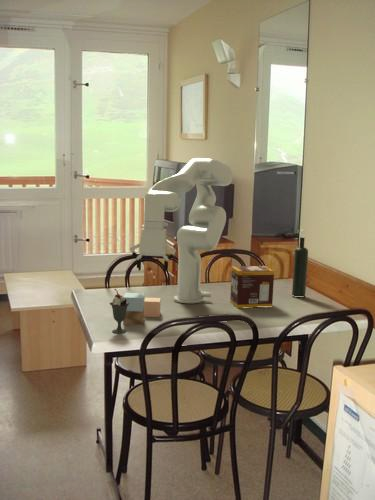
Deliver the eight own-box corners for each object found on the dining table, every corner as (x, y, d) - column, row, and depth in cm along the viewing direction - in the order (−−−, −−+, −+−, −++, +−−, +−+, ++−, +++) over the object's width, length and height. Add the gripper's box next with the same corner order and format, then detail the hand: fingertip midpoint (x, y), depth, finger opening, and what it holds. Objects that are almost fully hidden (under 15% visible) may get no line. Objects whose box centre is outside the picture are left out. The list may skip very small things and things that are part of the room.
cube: (160, 313, 233) (160, 298, 232) (159, 317, 227) (159, 301, 226) (144, 312, 233) (145, 297, 232) (143, 316, 227) (143, 301, 226)
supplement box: (229, 302, 253) (231, 265, 250) (264, 301, 256) (266, 265, 254) (236, 308, 243) (238, 270, 240) (272, 307, 246) (274, 270, 244)
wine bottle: (307, 297, 266) (312, 230, 261) (298, 298, 262) (302, 230, 257) (298, 294, 270) (302, 228, 265) (289, 295, 267) (293, 229, 262)
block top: (144, 306, 222) (144, 293, 221) (142, 311, 215) (142, 297, 215) (125, 305, 222) (125, 292, 221) (123, 310, 215) (123, 297, 214)
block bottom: (143, 319, 223) (144, 306, 222) (142, 324, 216) (142, 311, 215) (125, 318, 223) (125, 305, 222) (123, 324, 216) (123, 310, 215)
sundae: (109, 328, 210) (110, 287, 207) (129, 328, 210) (129, 287, 208) (108, 334, 203) (109, 291, 201) (128, 334, 204) (129, 291, 201)
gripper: (177, 225, 228) (175, 269, 230) (131, 223, 227) (130, 267, 230) (176, 227, 220) (174, 273, 223) (129, 225, 220) (128, 271, 222)
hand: (152, 270), depth 226 cm, fingers open, 9 cm apart
